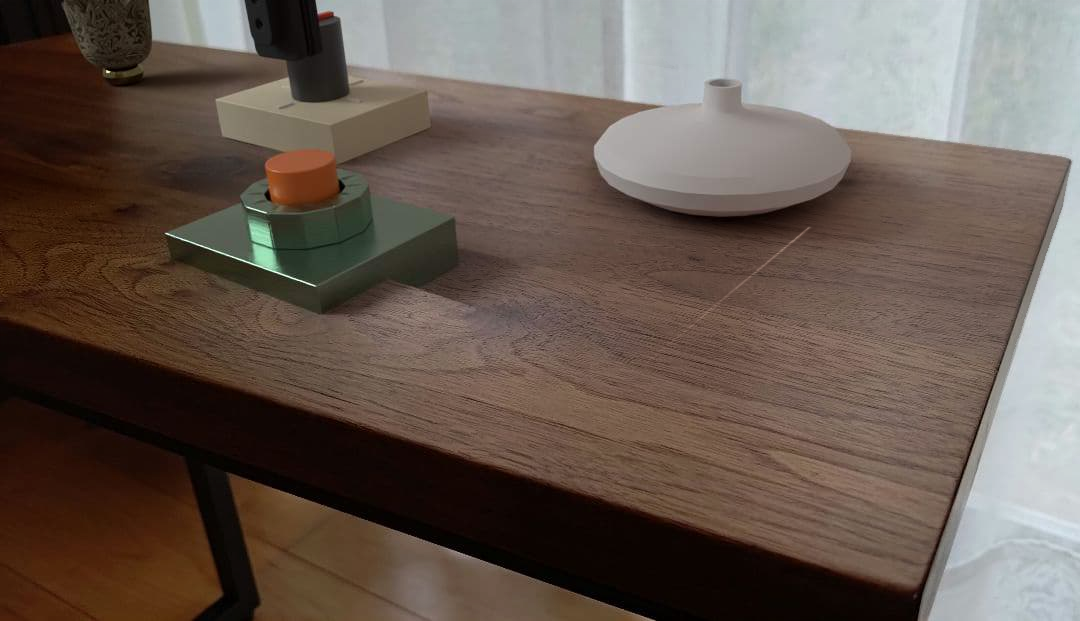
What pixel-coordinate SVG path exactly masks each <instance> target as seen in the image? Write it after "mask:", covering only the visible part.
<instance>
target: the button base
mask: <svg viewBox="0 0 1080 621" xmlns="http://www.w3.org/2000/svg"><path fill="white" fill-rule="evenodd" d="M337 174H338V181H339V188H340V193H339V194H338V195H335V196H333V197H331V198H328V199H326V200H324V201H319V202H314V203H308V204H303V205H281V204H278V203H274V202H272V201H271V197H270V191H269V186H268V180H267V177H265V178H263V179H260V180H258V181H256V182H253V183H252V184H250V185H249V187H247V188H246V189H245V190H244V191H243V192H242V193H241V194H240V203H237V204H234V205H231V206H229V207H227V208H224V209H222V210H219V211H216V212H214V213H212V214H209V215H206V216H204V217H202V218H199V219H196V220H194V221H191V222H189V223H186V224H184V225H182V226H180V227H176V228H174V229H172V230H169V231H167V232H165V233H164V235H165V239H166V244H167V249H168V252H169V256H170V259H171V260H173V261H176V262H178V263H181V264H184V265H186V266H189V267H191V268H194V269H197V270H200V271H202V272H205V273H208V274H210V275H212V276H216V277H218V278H220V279H222V280H223V279H224V280H227V281H229V282H232V283H234V284H237V285H240V286H242V287H245V288H248V289H250V290H252V291H255V292H259V293H261V294H264V295H266V296H269V297H272V298H273V299H274V298H275V299H277V300H280V301H283V302H285V303H287V304H291V305H294V306H295V307H298V308H300V309H304V310H306V311H308V312H309V311H310V312H312V313H315V314H317V315H323V314H325V313H327V312H329V311H331V310H333V309H335V308H336V307H338V306H340V305H342V304H344V303H346V302H348V301H349V300H352V299H353V298H355V297H357V296H359V295H361V294H362V293H364V292H367V291H368V290H370V289H372V288H373V287H376V286H377V285H379V284H382V283H383V282H384V281H387V280H390V281H393V282H396V283H400V284H401V285H406V286H409V287H412V288H414V289H419V288H421V287H423V286H425V285H427V284H429V283H430V282H433V281H434V280H436V279H438V278H439V277H441V276H443V275H444V274H446V273H448V272H451V271H452V270H454V269H455V268H457V267H459V266H460V260H459V248H458V236H457V227H456V226H457V225H456V216H455V215H451V214H447V213H444V212H440V211H437V210H432V209H429V208H425V207H421V206H418V205H414V204H410V203H407V202H402V201H399V200H395V199H391V198H387V197H383V196H381V195H377V194H372V193H371V192H370V185H369V183H368V181H367V180H366V179H365V178H364V177H363V175H362V174H361V173H358V172H353V171H350V170H347V169H343V168H337ZM453 268H454V269H453Z"/></svg>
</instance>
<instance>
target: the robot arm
mask: <svg viewBox="0 0 1080 621" xmlns="http://www.w3.org/2000/svg"><path fill="white" fill-rule="evenodd" d="M244 6H245V11H246V17H247V22H248V27H249V32H250V36H251V38H252V39H253V40H252V41H253V44H254V49H255V52H256V53H257V55H258V56H259V57H261V58H266V59H275V60H281V61H285V62H286V61H293V62H296V61H299V60H302V59H304V58H305V57H306V56H309V57H312V56H316V55H319V54H321V53H322V51H323V47H322V40H321V34H320V27H319V19H318V14H319V13H318V6H317V1H316V0H244Z"/></svg>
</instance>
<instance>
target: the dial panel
mask: <svg viewBox="0 0 1080 621" xmlns="http://www.w3.org/2000/svg"><path fill="white" fill-rule="evenodd" d="M348 81H349V88H350V92H349V94H347V95H346V96H344V97H341V98H338V99H334V100H329V101H321V102H303V101H298V100H295V99H293V98H292V95H291V89H290V82H289V76H287V77H284V78H281V79H277V80H274V81H272V82H268V83H265V84H261V85H257V86H255V87H251V88H248V89H245V90H242V91H237V92H235V93H233V94H232V93H231V94H229V95H225V96H221V97H218V98H215V107H216V111H217V116H218V121H219V126H220V132H221V136H222V137H223V138H227V139H231V140H235V141H239V142H243V143H247V144H251V145H254V146H258V147H262V148H265V149H266V148H267V149H270V150H275V151H279V152H283V153H285V152H289V151H295V150H303V149H317V150H324V151H328V152H331V153H332V154H333V155H334V156H335V161H336V166H337V165H340V164H343V163H345V162H348V161H351V160H353V159H356V158H357V157H361V156H363V155H365V154H368V153H370V152H373V151H375V150H378V149H380V148H382V147H386V146H388V145H390V144H393V143H396V142H397V141H398V142H399V141H400V140H402V139H406V138H408V137H411V136H413V135H416V134H417V133H421V132H424V131H425V130H428V129H430V128H431V127H432V126H431V124H432V123H431V114H430V105H429V104H430V103H429V95H428V94H429V93H428V90H427V89H422V88H418V87H411V86H406V85H401V84H395V83H389V82H385V81H378V80H373V79H367V78H362V77H356V76H351V75H348Z"/></svg>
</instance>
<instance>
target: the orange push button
mask: <svg viewBox="0 0 1080 621" xmlns="http://www.w3.org/2000/svg"><path fill="white" fill-rule="evenodd" d="M264 168H265V174H266V178H267V180H268V186H269V191H270V197H271V201H272V202H274V203H278V204H281V205H303V204H308V203H314V202H319V201H324V200H326V199H328V198H331V197H333V196H335V195H338V194H339V193H340V188H339V181H338V174H337V169H338V168H337V165H336V161H335V156H334V155H333V154H332V153H331V152H328V151H324V150H317V149H303V150H295V151H289V152H283V153H282V152H281V153H279V154H276V155H274V156H272V157H270V158H268V159H267V160H266V162H265V163H264Z"/></svg>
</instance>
